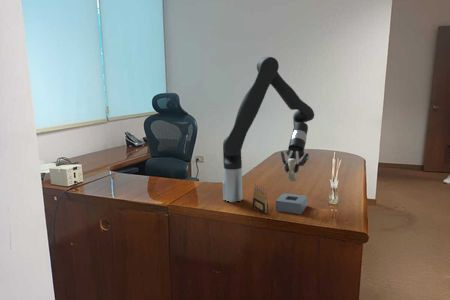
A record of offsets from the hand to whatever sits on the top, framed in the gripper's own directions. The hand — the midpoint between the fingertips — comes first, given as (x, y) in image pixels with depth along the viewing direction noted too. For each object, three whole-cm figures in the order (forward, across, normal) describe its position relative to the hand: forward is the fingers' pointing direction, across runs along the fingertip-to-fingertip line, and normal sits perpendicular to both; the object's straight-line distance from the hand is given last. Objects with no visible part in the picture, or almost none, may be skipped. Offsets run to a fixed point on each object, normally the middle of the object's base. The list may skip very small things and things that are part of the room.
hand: (291, 171), depth 158 cm
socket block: (+12, 0, +14) cm, 19 cm away
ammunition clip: (+17, -13, +9) cm, 24 cm away
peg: (+2, 0, +5) cm, 5 cm away
